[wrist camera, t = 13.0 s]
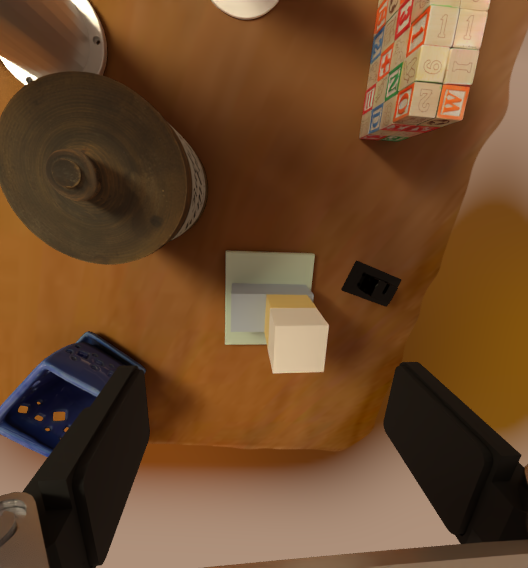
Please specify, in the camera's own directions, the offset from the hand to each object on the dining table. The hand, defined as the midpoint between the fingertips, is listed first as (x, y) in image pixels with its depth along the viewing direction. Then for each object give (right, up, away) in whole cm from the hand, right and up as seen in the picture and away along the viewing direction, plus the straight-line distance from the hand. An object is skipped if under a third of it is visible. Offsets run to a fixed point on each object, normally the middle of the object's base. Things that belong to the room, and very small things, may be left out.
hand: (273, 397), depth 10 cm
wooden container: (-16, +18, +29) cm, 38 cm away
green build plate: (0, +2, +36) cm, 36 cm away
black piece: (+18, +4, +37) cm, 42 cm away
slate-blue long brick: (0, +1, +34) cm, 35 cm away
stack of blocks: (+17, +35, +27) cm, 48 cm away
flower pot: (-28, -10, +37) cm, 48 cm away
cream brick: (+3, -2, +25) cm, 26 cm away
